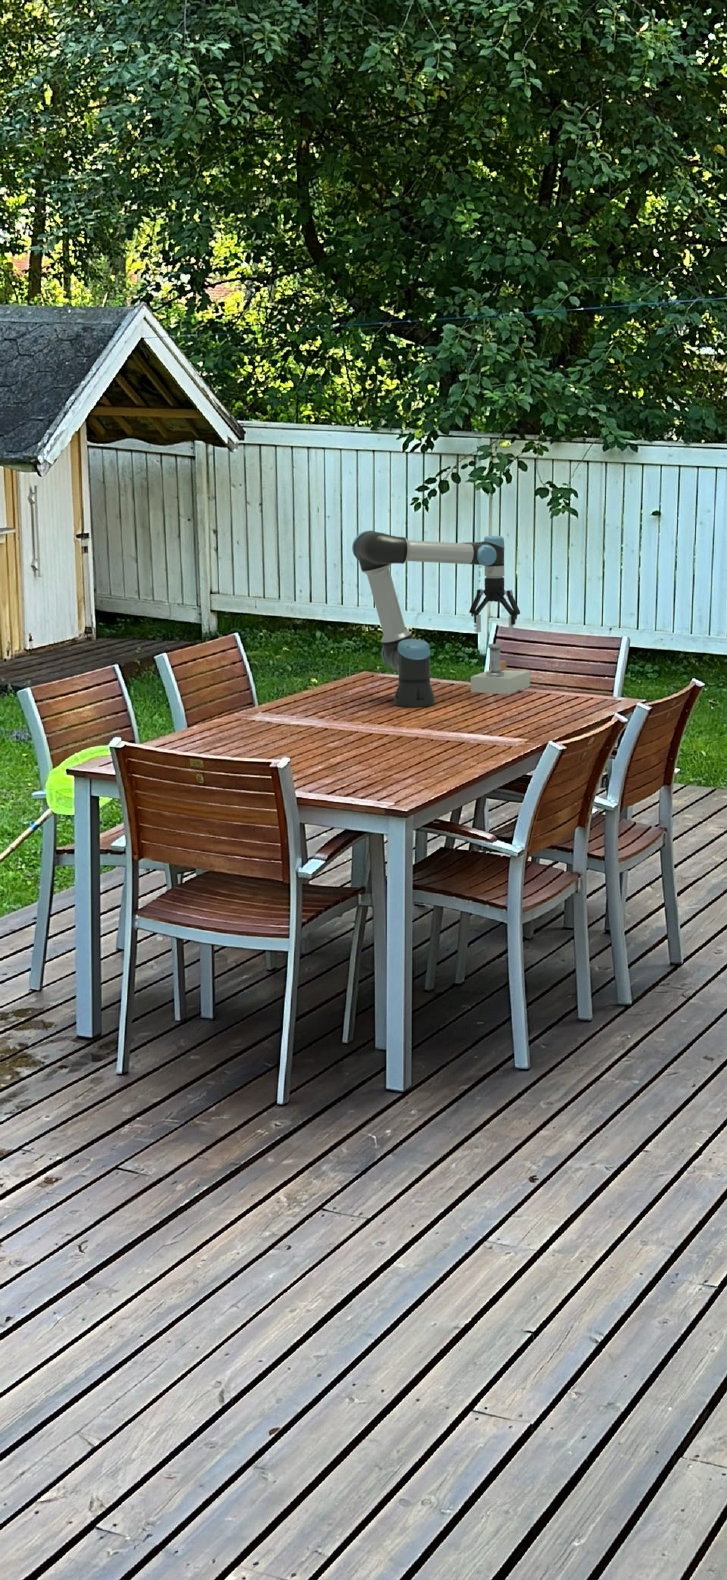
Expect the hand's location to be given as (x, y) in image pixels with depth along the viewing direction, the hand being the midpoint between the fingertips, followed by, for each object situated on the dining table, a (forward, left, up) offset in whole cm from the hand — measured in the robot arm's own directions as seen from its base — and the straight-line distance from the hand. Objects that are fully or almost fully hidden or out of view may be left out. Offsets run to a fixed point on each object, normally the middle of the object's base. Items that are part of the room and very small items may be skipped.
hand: (494, 632), depth 685 cm
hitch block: (0, +5, -22) cm, 23 cm away
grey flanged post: (0, 0, -20) cm, 20 cm away
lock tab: (-4, +12, -16) cm, 20 cm away
